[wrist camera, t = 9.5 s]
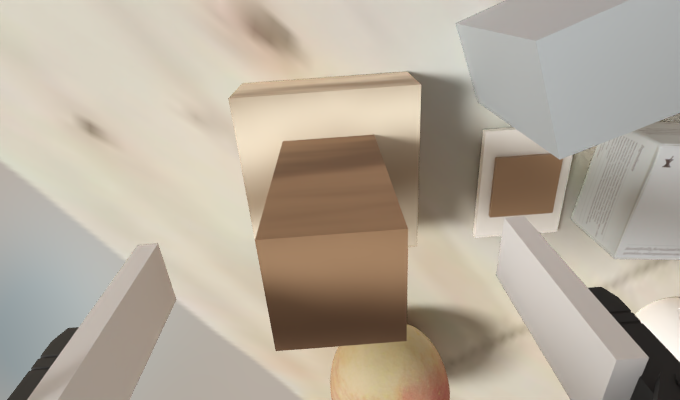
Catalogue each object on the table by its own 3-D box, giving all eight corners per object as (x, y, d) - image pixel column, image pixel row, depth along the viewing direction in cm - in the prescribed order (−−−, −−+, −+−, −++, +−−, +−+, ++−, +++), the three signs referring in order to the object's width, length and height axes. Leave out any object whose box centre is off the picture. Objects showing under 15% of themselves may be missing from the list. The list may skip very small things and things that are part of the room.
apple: (437, 365, 36) (465, 456, 29) (340, 383, 37) (344, 476, 30) (426, 290, 32) (456, 374, 25) (318, 311, 33) (316, 399, 26)
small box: (566, 220, 30) (610, 261, 25) (603, 116, 27) (662, 141, 22) (667, 223, 31) (728, 264, 26) (716, 121, 27) (797, 147, 22)
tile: (482, 129, 26) (487, 133, 26) (574, 122, 26) (581, 126, 26) (472, 234, 30) (476, 240, 29) (553, 228, 30) (559, 233, 29)
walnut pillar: (282, 141, 22) (254, 240, 13) (374, 134, 22) (407, 228, 13) (293, 220, 24) (275, 350, 16) (376, 214, 24) (406, 341, 16)
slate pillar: (455, 23, 24) (535, 41, 15) (541, -16, 23) (681, -23, 14) (477, 102, 26) (559, 159, 17) (556, 68, 25) (686, 110, 16)
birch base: (242, 83, 25) (228, 98, 21) (407, 71, 25) (421, 84, 21) (266, 225, 29) (258, 258, 26) (405, 215, 29) (417, 246, 26)
